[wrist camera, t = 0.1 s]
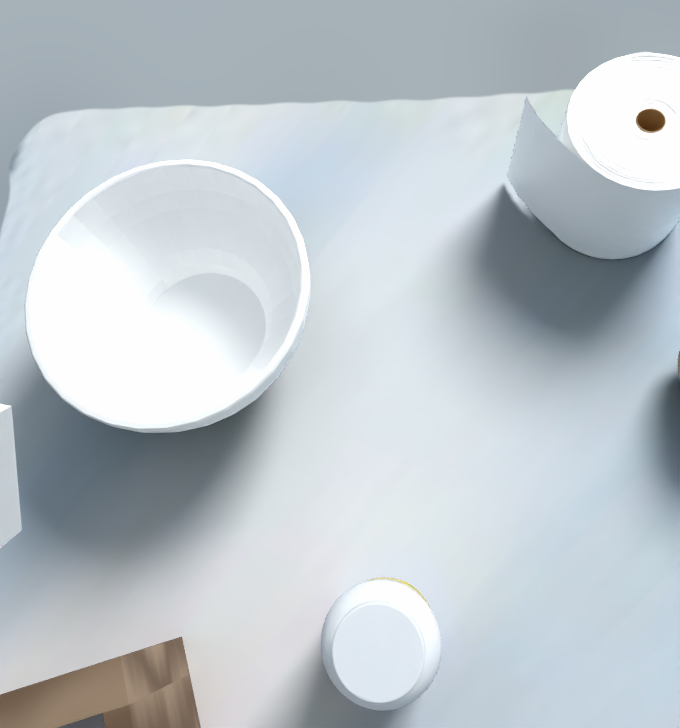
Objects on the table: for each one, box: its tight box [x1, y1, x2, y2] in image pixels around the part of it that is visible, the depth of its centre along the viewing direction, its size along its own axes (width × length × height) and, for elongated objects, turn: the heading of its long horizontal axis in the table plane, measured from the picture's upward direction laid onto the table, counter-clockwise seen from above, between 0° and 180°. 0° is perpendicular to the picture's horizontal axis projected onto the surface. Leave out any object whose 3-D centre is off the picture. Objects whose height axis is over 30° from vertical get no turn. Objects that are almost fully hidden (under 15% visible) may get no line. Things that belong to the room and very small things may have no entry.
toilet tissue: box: [507, 52, 680, 259], centre depth 47 cm, size 11×12×10 cm
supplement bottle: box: [321, 577, 441, 711], centre depth 38 cm, size 7×7×13 cm
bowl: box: [25, 159, 310, 433], centre depth 48 cm, size 20×20×10 cm
